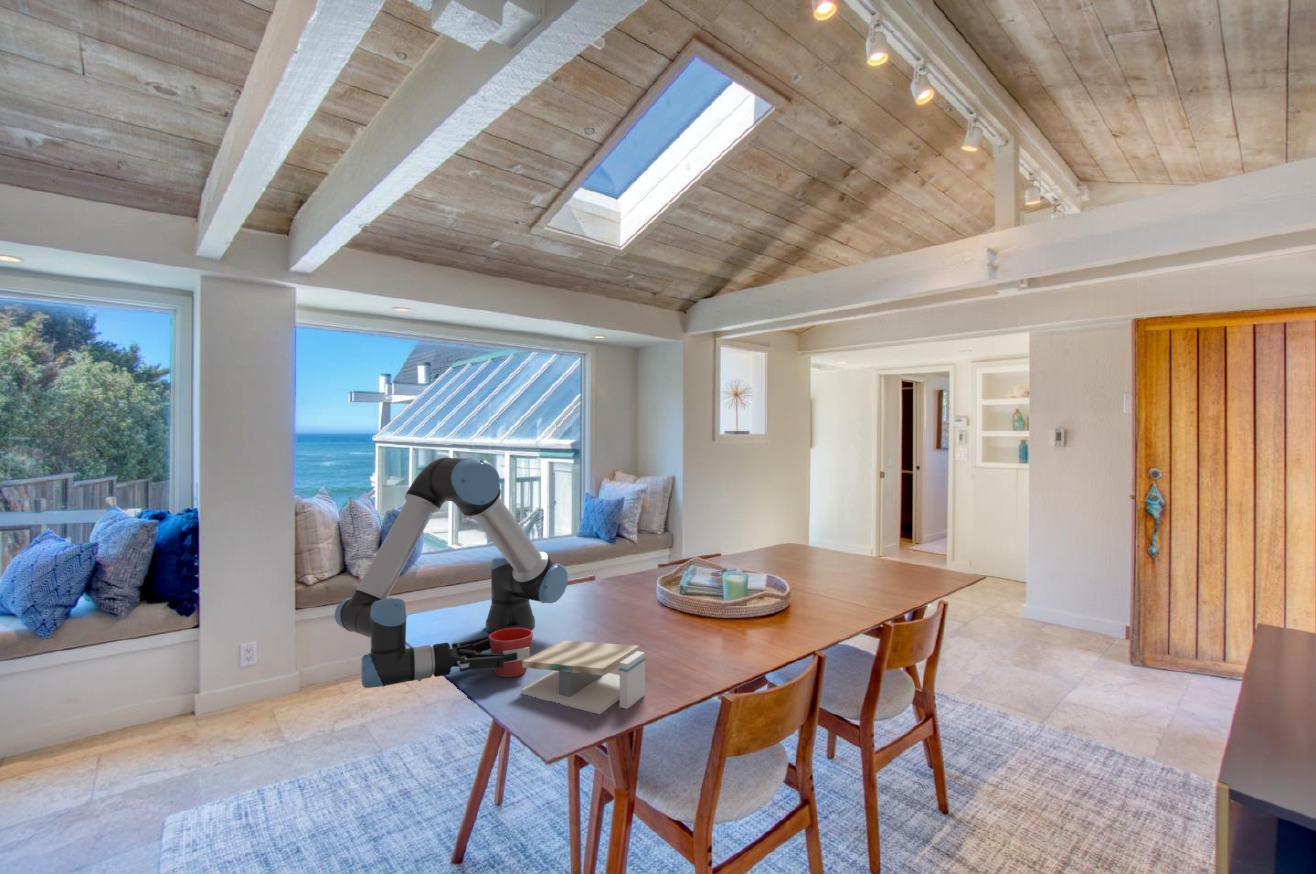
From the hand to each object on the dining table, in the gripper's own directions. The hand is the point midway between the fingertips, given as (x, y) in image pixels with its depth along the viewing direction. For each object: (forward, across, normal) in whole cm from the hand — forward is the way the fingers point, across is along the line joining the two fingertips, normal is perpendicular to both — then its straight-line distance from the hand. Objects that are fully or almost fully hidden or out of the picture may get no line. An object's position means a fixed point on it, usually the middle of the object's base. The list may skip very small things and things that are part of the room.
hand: (523, 646), depth 154 cm
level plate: (+9, +18, +1) cm, 20 cm away
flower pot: (-3, 0, -6) cm, 7 cm away
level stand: (+10, +20, -6) cm, 23 cm away
